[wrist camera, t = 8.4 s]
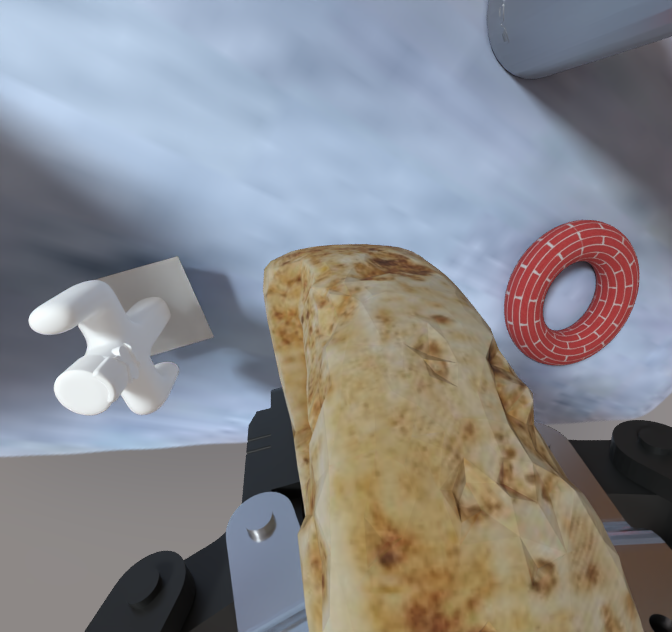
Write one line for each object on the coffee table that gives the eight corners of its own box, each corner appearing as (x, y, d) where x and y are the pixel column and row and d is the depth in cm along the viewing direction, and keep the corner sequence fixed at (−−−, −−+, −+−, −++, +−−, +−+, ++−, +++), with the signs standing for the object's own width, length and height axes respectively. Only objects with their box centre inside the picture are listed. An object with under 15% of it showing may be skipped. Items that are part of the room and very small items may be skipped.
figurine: (149, 352, 34) (65, 481, 20) (97, 257, 30) (-52, 336, 16) (224, 330, 34) (192, 441, 20) (182, 233, 30) (108, 291, 16)
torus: (493, 237, 35) (516, 244, 32) (625, 201, 36) (660, 204, 33) (499, 370, 42) (519, 387, 38) (610, 337, 43) (638, 351, 39)
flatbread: (402, 466, 15) (614, 950, 6) (313, 486, 14) (387, 1042, 5) (388, 205, 10) (1140, 465, 1) (261, 223, 10) (175, 746, 1)
